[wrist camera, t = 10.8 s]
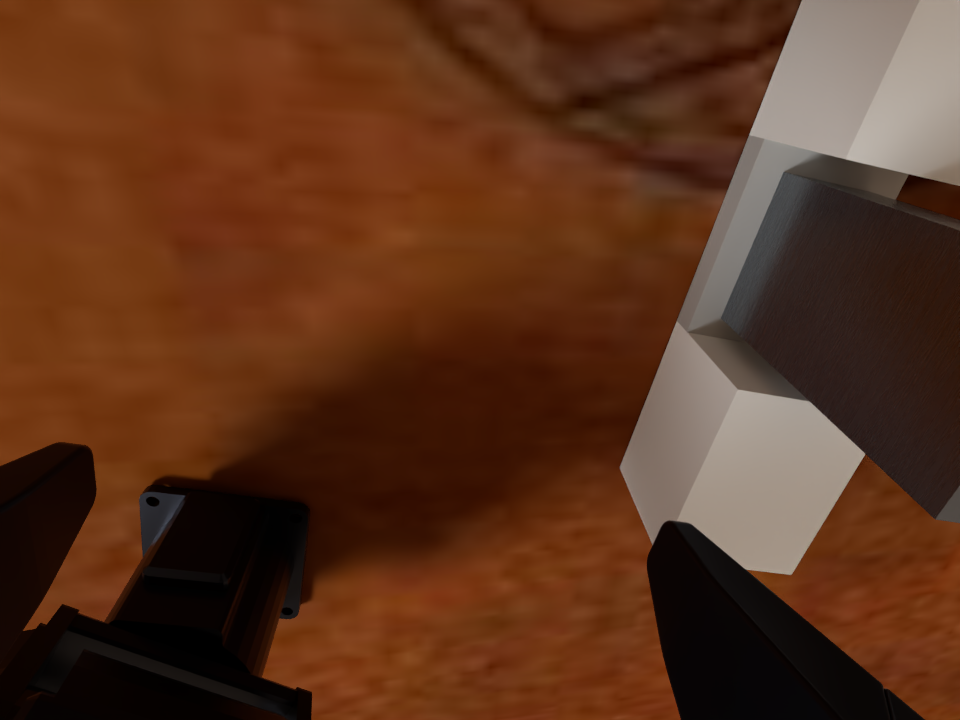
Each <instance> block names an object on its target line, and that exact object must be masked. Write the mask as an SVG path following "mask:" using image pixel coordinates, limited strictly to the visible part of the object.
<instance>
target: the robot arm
mask: <svg viewBox="0 0 960 720" xmlns="http://www.w3.org/2000/svg"><path fill="white" fill-rule="evenodd" d="M95 497H96V480H95V470H94V461H93V454H92V451H91V449H90V448H89V447H88V446H86V445H81V444H73V443H65V442H58V443H55V444H52V445H49V446H47V447H45V448H42V449H40V450H38V451H35V452H33V453H30V454H28V455H26V456H23V457H21V458H19V459H16V460H14V461H11V462H9V463H7V464H4V465H2V466H0V720H311V708H312V692H310V691H307V690H304V689H301V688H299V687H297V688H296V689H293V688H290V687H287V686H284V685H281V684H279V683H276V682H273V681H270V680H267V679H264V678H262V675H263V672H264V668H265V665H266V662H267V658H268V655H269V651H270V648H271V645H272V641H273V638H274V634H275V631H276V628H277V624H278V621H279V618H281V619H292V618H295V617H296V616H297V615H298V613H299V609H300V605H301V595H302V586H303V576H304V567H305V557H306V547H307V538H308V528H309V519H310V510H309V508H308V507H307V506H306V505H305V504H303V503H299V502H291V501H283V500H275V499H267V498H258V497H250V496H242V495H234V494H225V493H217V492H209V491H201V490H193V489H184V488H176V487H168V486H160V485H151V486H148V487H147V488H146V489H145V490H144V492H143V493H142V494H141V496H140V499H139V503H140V519H141V535H142V550H143V558H142V560H141V562H140V563H139V565H138V567H137V568H136V570H135V572H134V573H133V575H132V577H131V578H130V580H129V582H128V583H127V585H126V587H125V588H124V590H123V592H122V593H121V595H120V597H119V598H118V600H117V602H116V603H115V605H114V607H113V608H112V610H111V612H110V613H109V615H108V617H107V618H106V620H105V622H102V621H99V620H97V619H94V618H91V617H88V616H85V615H82V614H80V613H78V612H79V610H78V609H75V608H72V607H69V606H67V605H64V604H62V605H61V606H60V608H59V609H58V610H57V612H56V613H55V614H54V616H53V617H52V618H51V620H50V621H49V622H48V624H47V625H45V624H43V623H40V624H39V625H38V627H37V628H36V629H32V630H27V631H23V629H24V628H25V626H26V625H27V623H28V622H29V620H30V619H31V617H32V616H33V614H34V613H35V611H36V610H37V608H38V606H39V605H40V603H41V602H42V600H43V598H44V597H45V595H46V593H47V591H48V590H49V588H50V586H51V584H52V582H53V580H54V578H55V577H56V575H57V573H58V571H59V569H60V567H61V565H62V563H63V561H64V559H65V557H66V556H67V554H68V552H69V550H70V548H71V546H72V544H73V542H74V540H75V538H76V536H77V535H78V533H79V531H80V529H81V527H82V525H83V523H84V521H85V519H86V517H87V516H88V514H89V512H90V510H91V508H92V506H93V503H94V501H95ZM152 497H156V498H157V499H158V500H156V499H154V498H152ZM293 514H299V515H300V516H294V515H293ZM647 572H648V578H649V583H650V589H651V594H652V600H653V605H654V611H655V616H656V622H657V627H658V633H659V639H660V644H661V649H662V653H663V658H664V662H665V665H666V669H667V673H668V676H669V680H670V683H671V687H672V690H673V694H674V697H675V700H676V704H677V707H678V711H679V714H680V718H681V720H925V719H923V718H922V717H921V716H920V715H919V714H917V713H916V712H915V711H914V710H912V709H911V708H910V707H909V706H908V705H907V704H905V703H904V702H903V701H902V700H901V699H899V698H898V697H897V696H896V695H895V694H894V693H892V692H891V691H890V690H889V689H884V688H883V685H882V684H881V683H880V682H879V681H878V680H877V679H876V678H874V677H873V676H872V675H871V674H870V673H868V672H867V671H866V670H865V669H864V668H862V667H861V666H860V665H859V664H858V663H856V662H855V661H854V660H853V659H852V658H851V657H849V656H848V655H847V654H846V653H845V652H843V651H842V650H841V649H840V648H839V647H837V646H836V645H835V644H834V643H833V642H831V641H830V640H829V639H828V638H827V637H825V636H824V635H823V634H822V633H821V632H820V631H818V630H817V629H816V628H815V627H814V626H812V625H811V624H810V623H809V622H808V621H806V620H805V619H804V618H803V617H802V616H800V615H799V614H798V613H797V612H796V611H794V610H793V609H792V608H791V607H790V606H789V605H787V604H786V603H785V602H784V601H783V600H781V599H780V598H779V597H778V596H777V595H775V594H774V593H773V592H772V591H771V590H769V589H768V588H767V587H766V586H765V585H764V584H762V583H761V582H760V581H759V580H758V579H756V578H755V577H754V576H753V575H752V574H750V573H749V572H748V571H747V570H746V569H744V568H743V567H742V566H741V565H740V564H738V563H737V562H736V561H735V560H734V559H733V558H731V557H730V556H729V555H728V554H727V553H725V552H724V551H723V550H722V549H721V548H719V547H718V546H717V545H716V544H715V543H713V542H712V541H711V540H710V539H709V538H707V537H706V536H705V535H704V534H703V533H702V532H700V531H699V530H698V529H697V528H696V527H694V526H693V525H692V524H690V523H687V522H680V521H673V520H668V521H666V522H664V523H663V524H662V526H661V528H660V530H659V532H658V534H657V537H656V539H655V541H654V543H653V545H652V548H651V550H650V552H649V555H648V558H647ZM287 607H288V608H287Z"/></svg>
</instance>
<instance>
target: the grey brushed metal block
mask: <svg viewBox="0 0 960 720" xmlns="http://www.w3.org/2000/svg"><path fill="white" fill-rule="evenodd" d="M721 319H722V320H723V321H724V322H726V323H727V324H728V325H729V326H730V327H731V328H732V329H733V330H734V331H735V332H736V333H737V334H738V335H739V336H740V337H741V338H743V339H744V340H745V341H746V342H747V343H748V344H749V345H750V346H751V347H752V348H753V349H754V350H755V351H756V352H757V353H759V354H760V355H761V356H762V357H763V358H764V359H765V360H766V361H767V362H768V363H769V364H770V365H771V366H772V367H773V368H775V369H776V370H777V371H778V372H779V373H780V374H781V375H782V376H783V377H784V378H785V379H786V380H787V381H788V382H789V383H790V384H792V385H793V386H794V387H795V388H796V389H797V390H798V391H799V392H800V393H801V394H802V395H803V396H804V397H805V398H806V399H808V400H809V401H810V402H811V403H812V404H813V405H814V406H815V407H816V408H817V409H818V410H819V411H820V412H821V413H822V414H823V415H825V416H826V417H827V418H828V419H829V420H830V421H831V422H832V423H833V424H834V425H835V426H836V427H837V428H838V429H839V430H841V431H842V432H843V433H844V434H845V435H846V436H847V437H848V438H849V439H850V440H851V441H852V442H853V443H854V444H855V445H857V446H858V447H859V448H860V449H861V450H862V451H863V452H864V453H865V454H866V455H867V456H868V457H869V458H870V459H871V460H872V461H874V462H875V463H876V464H877V465H878V466H879V467H880V468H881V469H882V470H883V471H884V472H885V473H886V474H887V475H888V476H890V477H891V478H892V479H893V480H894V481H895V482H896V483H897V484H898V485H899V486H900V487H901V488H902V489H903V490H904V491H906V492H907V493H908V494H909V495H910V496H911V497H912V498H913V499H914V500H915V501H916V502H917V503H918V504H919V505H920V506H921V507H923V508H924V509H925V510H926V511H927V512H928V513H929V514H930V515H931V516H932V517H933V518H934V519H936V520H943V521H950V522H957V523H960V220H959V219H955V218H952V217H949V216H946V215H943V214H939V213H936V212H933V211H930V210H927V209H923V208H920V207H917V206H914V205H911V204H908V203H904V202H901V201H898V200H895V199H892V198H888V197H885V196H882V195H879V194H876V193H873V192H869V191H865V190H861V189H857V188H852V187H848V186H844V185H839V184H835V183H831V182H826V181H822V180H818V179H813V178H809V177H805V176H800V175H796V174H792V173H787V172H783V174H782V177H781V179H780V181H779V184H778V186H777V188H776V191H775V193H774V195H773V198H772V200H771V202H770V205H769V207H768V209H767V212H766V214H765V216H764V218H763V221H762V223H761V225H760V228H759V230H758V232H757V235H756V237H755V239H754V242H753V244H752V246H751V249H750V251H749V253H748V256H747V258H746V260H745V263H744V265H743V267H742V270H741V272H740V274H739V277H738V279H737V281H736V284H735V286H734V288H733V291H732V293H731V295H730V298H729V300H728V302H727V305H726V307H725V309H724V312H723V314H722V316H721Z"/></svg>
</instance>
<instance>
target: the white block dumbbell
mask: <svg viewBox="0 0 960 720" xmlns="http://www.w3.org/2000/svg"><path fill="white" fill-rule="evenodd" d="M783 172H787V173H792V174H796V175H800V176H805V177H809V178H813V179H818V180H822V181H826V182H831V183H835V184H839V185H844V186H848V187H852V188H857V189H861V190H865V191H869V192H873V193H876V194H879V195H882V196H885V197H888V198H892V199H895V200H896V198H897V196H898V194H899V192H900V190H901V188H902V186H903V184H904V183H905V181H906V179H907V177H908V175H909V174H911V175H915V176H919V177H923V178H928V179H932V180H936V181H941V182H945V183H949V184H953V185H958V186H960V0H802V1H801V4H800V6H799V9H798V12H797V14H796V17H795V19H794V22H793V24H792V27H791V29H790V32H789V35H788V37H787V40H786V42H785V45H784V47H783V50H782V53H781V55H780V58H779V60H778V63H777V65H776V68H775V70H774V73H773V76H772V78H771V81H770V83H769V86H768V88H767V91H766V94H765V96H764V99H763V101H762V104H761V106H760V109H759V112H758V114H757V117H756V119H755V122H754V124H753V127H752V129H751V132H750V135H749V137H748V140H747V142H746V145H745V147H744V150H743V153H742V155H741V158H740V160H739V163H738V165H737V168H736V170H735V173H734V176H733V178H732V181H731V183H730V186H729V188H728V191H727V194H726V196H725V199H724V201H723V204H722V206H721V209H720V212H719V214H718V217H717V219H716V222H715V224H714V227H713V229H712V232H711V235H710V237H709V240H708V242H707V245H706V247H705V250H704V253H703V255H702V258H701V260H700V263H699V265H698V268H697V270H696V273H695V276H694V278H693V281H692V283H691V286H690V288H689V291H688V294H687V296H686V299H685V301H684V304H683V306H682V309H681V311H680V314H679V317H678V319H677V322H676V324H675V327H674V329H673V332H672V335H671V337H670V340H669V342H668V345H667V347H666V350H665V353H664V355H663V358H662V360H661V363H660V365H659V368H658V370H657V373H656V376H655V378H654V381H653V383H652V386H651V388H650V391H649V394H648V396H647V399H646V401H645V404H644V406H643V409H642V411H641V414H640V417H639V419H638V422H637V424H636V427H635V429H634V432H633V435H632V437H631V440H630V442H629V445H628V447H627V450H626V452H625V455H624V458H623V460H622V463H621V465H620V470H621V472H622V475H623V477H624V479H625V482H626V484H627V486H628V489H629V491H630V493H631V496H632V498H633V500H634V503H635V505H636V507H637V510H638V512H639V514H640V517H641V519H642V521H643V524H644V526H645V528H646V531H647V533H648V535H649V538H650V540H651V542H652V545H653V543H654V541H655V539H656V537H657V534H658V532H659V530H660V528H661V526H662V524H663V523H664V522H666V521H668V520H673V521H680V522H687V523H690V524H692V525H693V526H694V527H696V528H697V529H698V530H699V531H700V532H702V533H703V534H704V535H705V536H706V537H707V538H709V539H710V540H711V541H712V542H713V543H715V544H716V545H717V546H718V547H719V548H721V549H722V550H723V551H724V552H725V553H727V554H728V555H729V556H730V557H731V558H733V559H734V560H735V561H736V562H737V563H738V564H740V565H741V566H742V567H743V568H744V569H746V570H755V571H763V572H771V573H780V574H788V575H792V573H793V571H794V570H795V568H796V567H797V565H798V563H799V562H800V560H801V558H802V557H803V555H804V554H805V552H806V550H807V549H808V547H809V545H810V544H811V542H812V540H813V539H814V537H815V536H816V534H817V532H818V531H819V529H820V527H821V526H822V524H823V523H824V521H825V519H826V518H827V516H828V514H829V513H830V511H831V509H832V508H833V506H834V505H835V503H836V501H837V500H838V498H839V496H840V495H841V493H842V492H843V490H844V488H845V487H846V485H847V483H848V482H849V480H850V478H851V477H852V475H853V474H854V472H855V470H856V469H857V467H858V465H859V464H860V462H861V461H862V459H863V457H864V456H865V453H864V452H863V451H862V450H861V449H860V448H859V447H858V446H857V445H855V444H854V443H853V442H852V441H851V440H850V439H849V438H848V437H847V436H846V435H845V434H844V433H843V432H842V431H841V430H839V429H838V428H837V427H836V426H835V425H834V424H833V423H832V422H831V421H830V420H829V419H828V418H827V417H826V416H825V415H823V414H822V413H821V412H820V411H819V410H818V409H817V408H816V407H815V406H814V405H813V404H812V403H811V402H810V401H809V400H808V399H806V398H805V397H804V396H803V395H802V394H801V393H800V392H799V391H798V390H797V389H796V388H795V387H794V386H793V385H792V384H790V383H789V382H788V381H787V380H786V379H785V378H784V377H783V376H782V375H781V374H780V373H779V372H778V371H777V370H776V369H775V368H773V367H772V366H771V365H770V364H769V363H768V362H767V361H766V360H765V359H764V358H763V357H762V356H761V355H760V354H759V353H757V352H756V351H755V350H754V349H753V348H752V347H751V346H750V345H749V344H748V343H747V342H746V341H745V340H744V339H743V338H741V337H740V336H739V335H738V334H737V333H736V332H735V331H734V330H733V329H732V328H731V327H730V326H729V325H728V324H727V323H726V322H724V321H723V320H722V319H721V316H722V314H723V312H724V309H725V307H726V305H727V302H728V300H729V298H730V295H731V293H732V291H733V288H734V286H735V284H736V281H737V279H738V277H739V274H740V272H741V270H742V267H743V265H744V263H745V260H746V258H747V256H748V253H749V251H750V249H751V246H752V244H753V242H754V239H755V237H756V235H757V232H758V230H759V228H760V225H761V223H762V221H763V218H764V216H765V214H766V212H767V209H768V207H769V205H770V202H771V200H772V198H773V195H774V193H775V191H776V188H777V186H778V184H779V181H780V179H781V177H782V174H783Z"/></svg>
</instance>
